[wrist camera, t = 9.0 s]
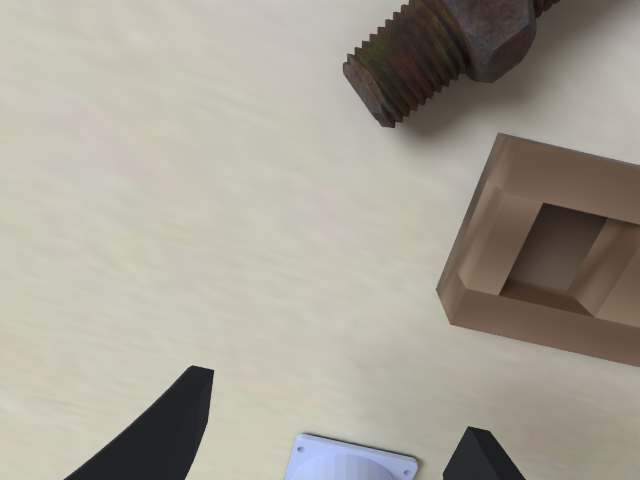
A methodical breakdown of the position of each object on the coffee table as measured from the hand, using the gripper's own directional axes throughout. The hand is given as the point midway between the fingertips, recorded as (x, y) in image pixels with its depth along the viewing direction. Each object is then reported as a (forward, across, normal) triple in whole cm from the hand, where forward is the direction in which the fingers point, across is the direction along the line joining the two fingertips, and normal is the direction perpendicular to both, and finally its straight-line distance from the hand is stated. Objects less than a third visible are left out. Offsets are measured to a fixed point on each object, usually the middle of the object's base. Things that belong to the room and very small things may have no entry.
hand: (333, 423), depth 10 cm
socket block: (+9, -12, -4) cm, 16 cm away
